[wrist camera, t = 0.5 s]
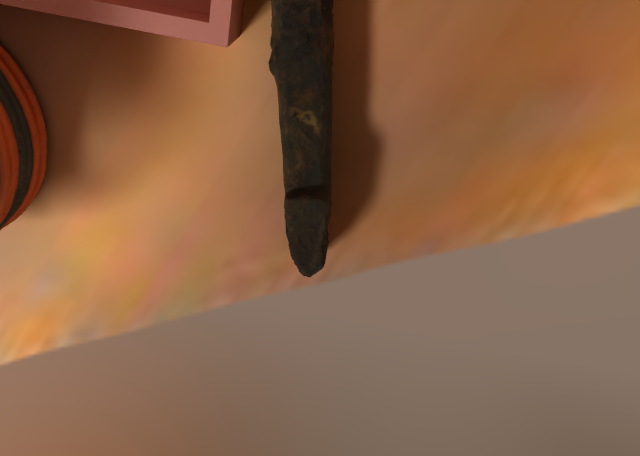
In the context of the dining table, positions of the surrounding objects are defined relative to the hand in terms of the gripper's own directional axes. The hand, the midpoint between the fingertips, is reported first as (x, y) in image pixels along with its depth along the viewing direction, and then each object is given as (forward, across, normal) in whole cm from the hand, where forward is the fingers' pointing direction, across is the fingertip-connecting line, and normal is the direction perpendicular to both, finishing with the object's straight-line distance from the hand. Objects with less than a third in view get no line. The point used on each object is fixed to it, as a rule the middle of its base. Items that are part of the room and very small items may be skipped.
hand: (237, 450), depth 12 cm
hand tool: (+25, 0, 0) cm, 25 cm away
